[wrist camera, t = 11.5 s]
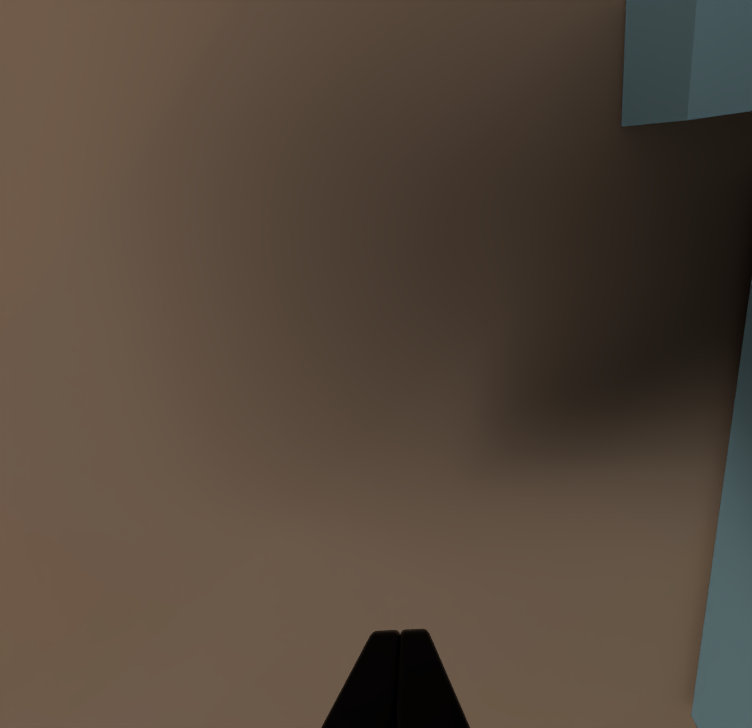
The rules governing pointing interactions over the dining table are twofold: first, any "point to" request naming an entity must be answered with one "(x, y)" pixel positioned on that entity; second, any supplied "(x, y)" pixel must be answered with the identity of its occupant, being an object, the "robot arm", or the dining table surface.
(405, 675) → the robot arm
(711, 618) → the block
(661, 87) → the vise body
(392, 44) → the dining table surface
